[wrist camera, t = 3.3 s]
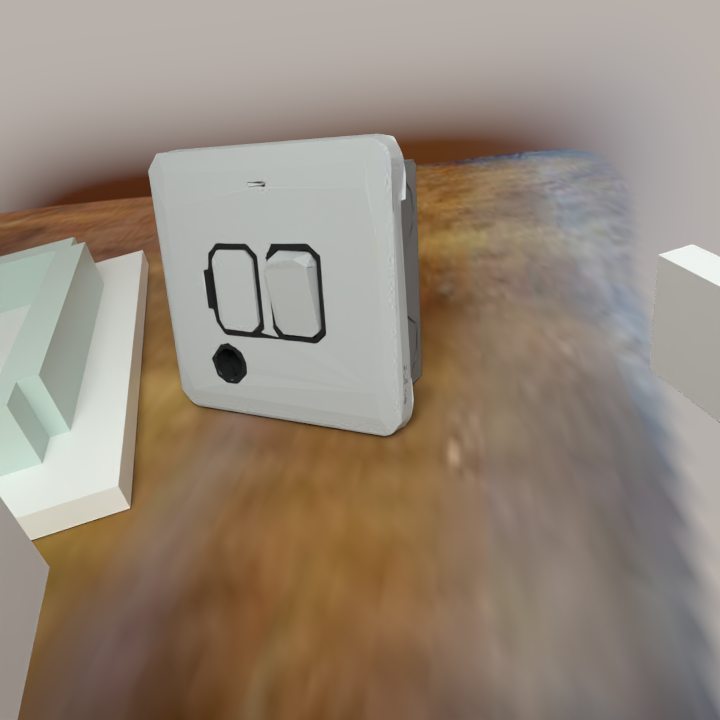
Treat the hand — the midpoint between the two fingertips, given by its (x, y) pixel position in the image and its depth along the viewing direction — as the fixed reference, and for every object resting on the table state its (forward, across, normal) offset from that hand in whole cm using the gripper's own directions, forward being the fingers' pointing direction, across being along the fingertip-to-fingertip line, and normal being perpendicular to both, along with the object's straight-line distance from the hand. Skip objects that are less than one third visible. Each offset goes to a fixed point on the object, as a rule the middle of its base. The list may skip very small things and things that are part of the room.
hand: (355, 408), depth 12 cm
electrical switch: (+11, 0, -6) cm, 12 cm away
